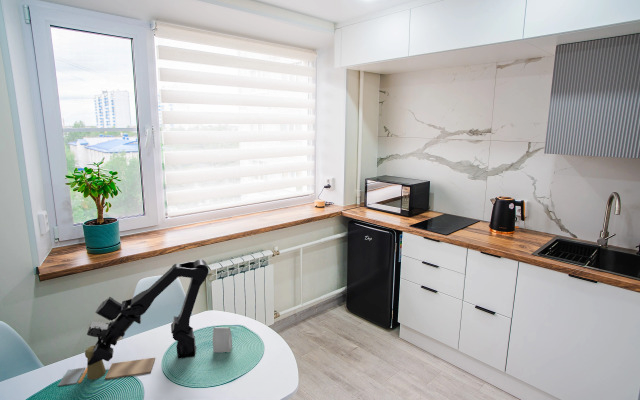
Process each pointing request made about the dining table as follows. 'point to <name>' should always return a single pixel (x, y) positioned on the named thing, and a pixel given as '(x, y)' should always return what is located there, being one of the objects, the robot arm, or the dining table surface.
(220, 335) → the grey rectangular block
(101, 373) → the cork
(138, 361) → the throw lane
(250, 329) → the dining table surface
